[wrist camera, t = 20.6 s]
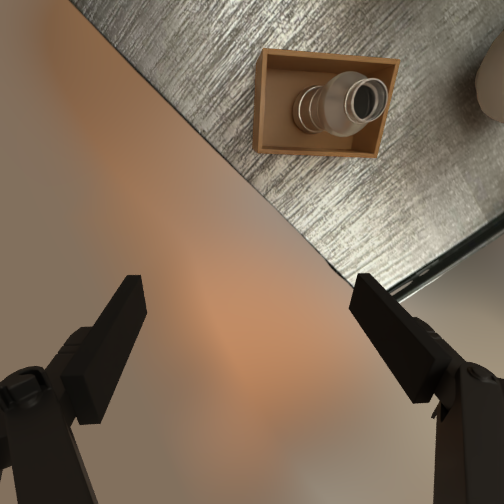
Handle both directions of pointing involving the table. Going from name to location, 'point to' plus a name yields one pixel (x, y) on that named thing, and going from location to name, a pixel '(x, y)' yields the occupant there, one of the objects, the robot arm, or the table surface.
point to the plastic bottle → (340, 104)
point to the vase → (492, 81)
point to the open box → (290, 86)
